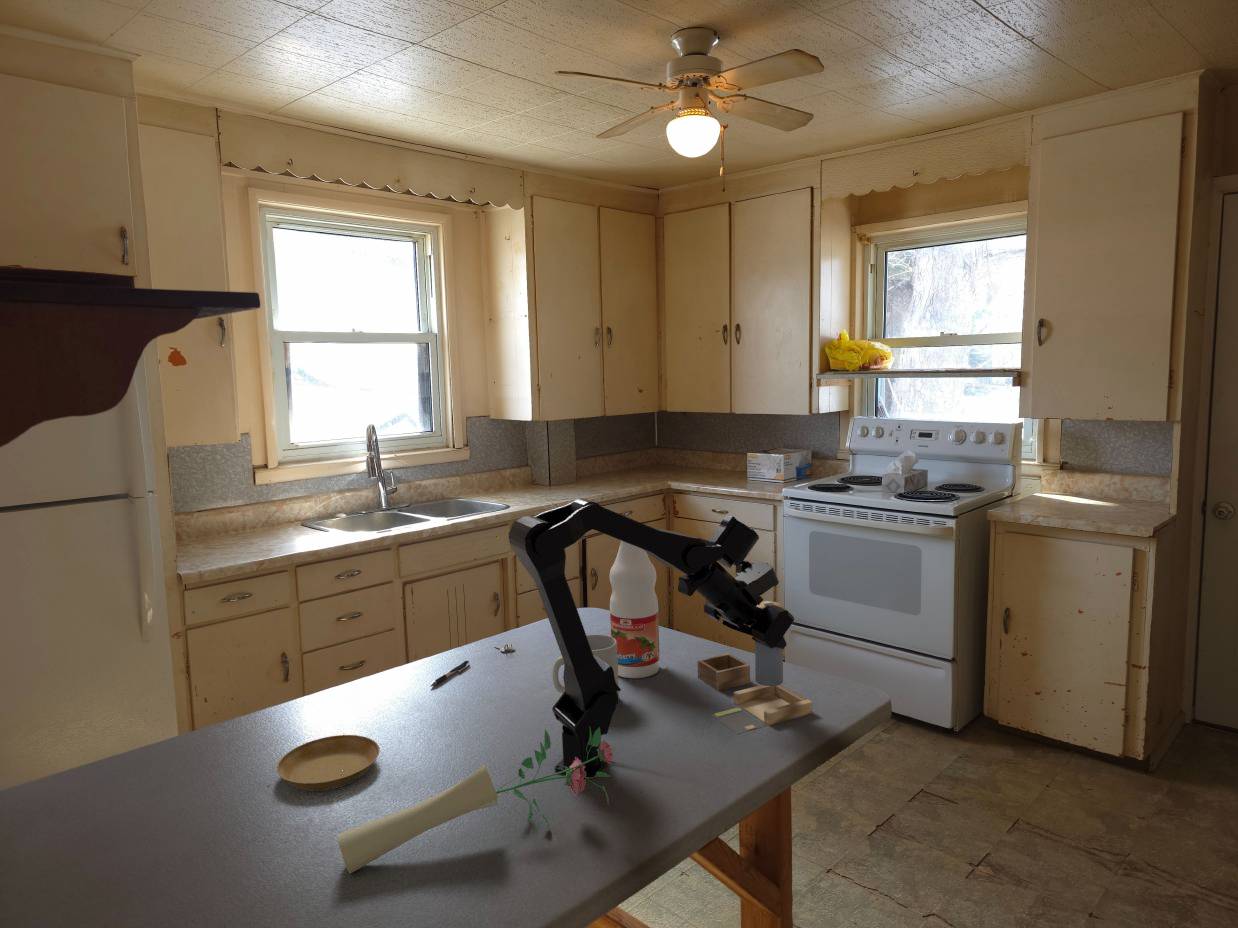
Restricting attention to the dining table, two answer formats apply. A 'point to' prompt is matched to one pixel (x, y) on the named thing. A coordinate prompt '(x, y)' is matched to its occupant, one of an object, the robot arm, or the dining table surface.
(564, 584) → the robot arm
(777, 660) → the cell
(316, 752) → the plant saucer
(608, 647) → the mug
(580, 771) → the flower vase
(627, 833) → the dining table surface
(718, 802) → the dining table surface
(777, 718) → the light wooden tray
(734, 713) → the pad
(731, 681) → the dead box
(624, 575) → the fruit juice
